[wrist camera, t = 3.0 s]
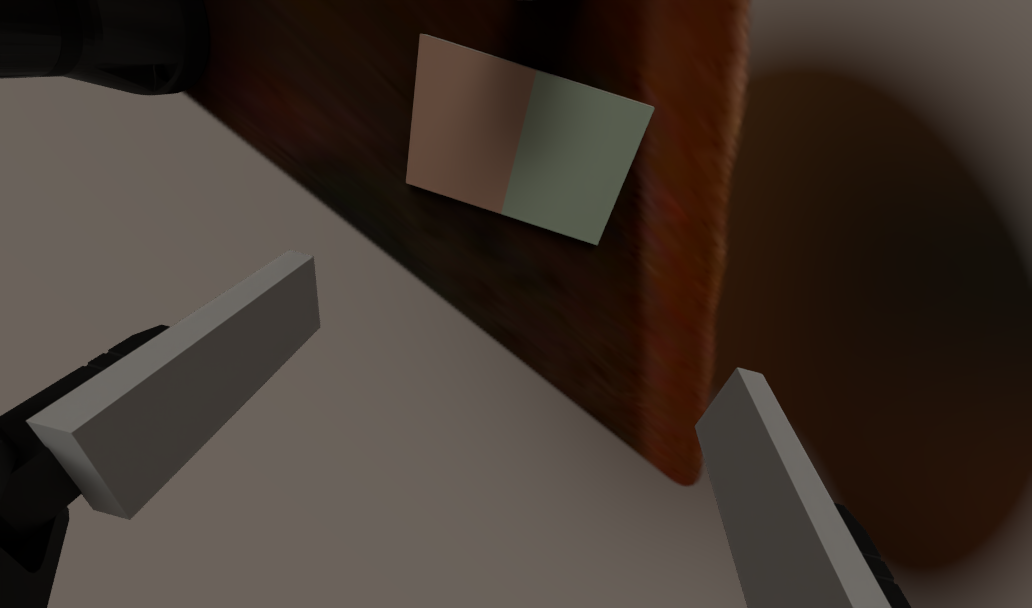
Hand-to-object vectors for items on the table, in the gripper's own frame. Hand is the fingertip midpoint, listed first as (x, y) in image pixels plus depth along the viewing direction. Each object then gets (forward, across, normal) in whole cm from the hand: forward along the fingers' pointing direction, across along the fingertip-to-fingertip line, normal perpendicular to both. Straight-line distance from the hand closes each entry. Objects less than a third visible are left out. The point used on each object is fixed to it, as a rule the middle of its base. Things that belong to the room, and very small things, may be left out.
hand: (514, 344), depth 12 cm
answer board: (+26, -4, 0) cm, 27 cm away
